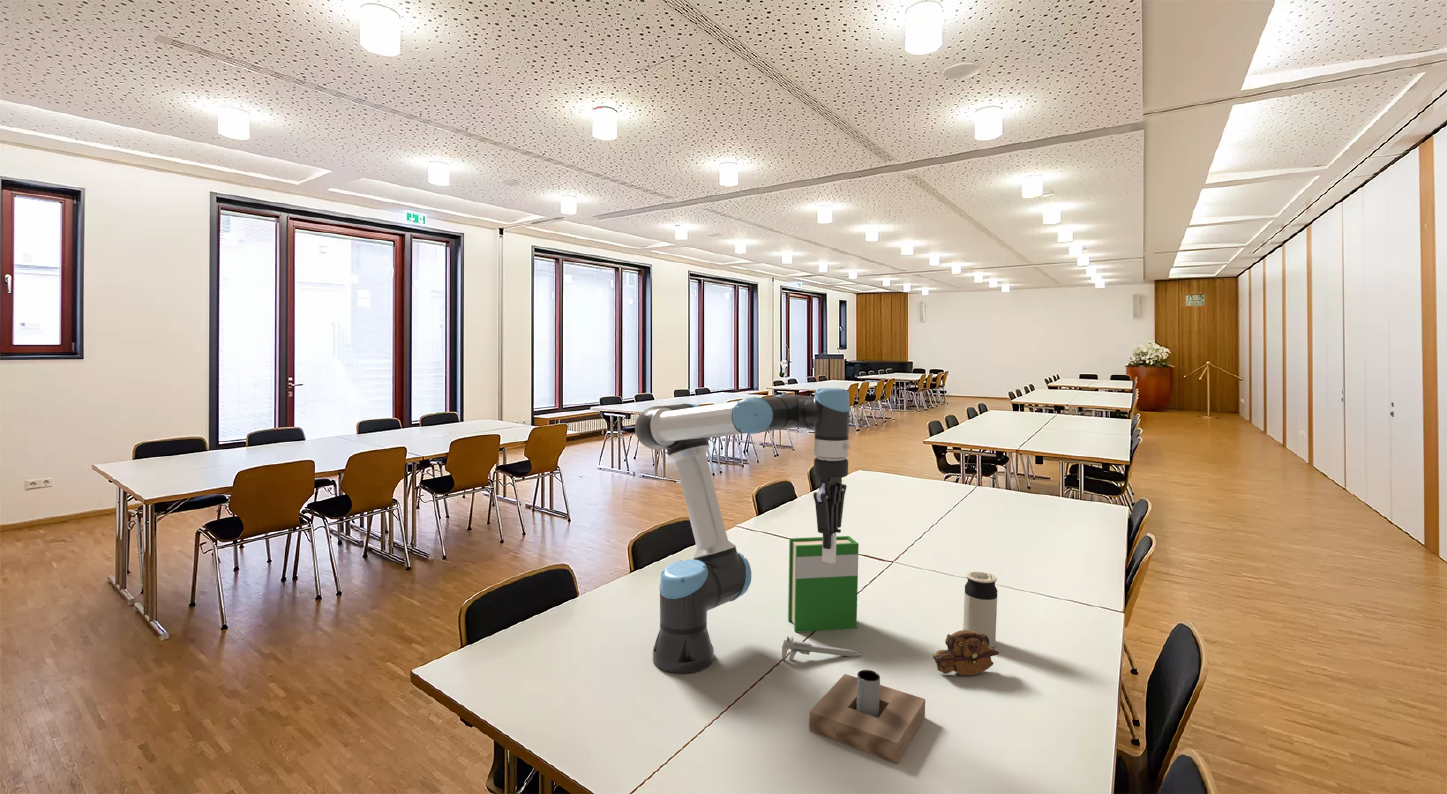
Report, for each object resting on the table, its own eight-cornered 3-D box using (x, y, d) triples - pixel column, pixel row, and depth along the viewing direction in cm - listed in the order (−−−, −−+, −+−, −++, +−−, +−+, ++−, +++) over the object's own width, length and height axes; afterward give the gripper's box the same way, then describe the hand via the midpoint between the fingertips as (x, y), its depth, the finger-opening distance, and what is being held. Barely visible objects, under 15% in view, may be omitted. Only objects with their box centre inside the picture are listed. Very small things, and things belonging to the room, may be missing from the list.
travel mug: (961, 645, 163) (963, 578, 161) (964, 633, 170) (967, 568, 168) (993, 652, 159) (996, 583, 158) (996, 639, 166) (999, 574, 165)
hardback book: (795, 632, 169) (796, 546, 168) (788, 620, 177) (789, 538, 175) (856, 628, 172) (858, 543, 171) (846, 617, 179) (848, 535, 178)
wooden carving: (942, 683, 144) (943, 641, 143) (930, 673, 148) (931, 632, 147) (1001, 674, 148) (1003, 633, 147) (989, 664, 152) (990, 625, 152)
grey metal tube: (875, 716, 130) (876, 669, 129) (881, 729, 125) (882, 680, 125) (853, 717, 130) (854, 669, 129) (859, 730, 125) (860, 681, 124)
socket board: (809, 730, 125) (809, 711, 125) (844, 690, 140) (844, 673, 140) (896, 763, 115) (897, 743, 115) (924, 717, 130) (925, 699, 130)
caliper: (782, 662, 153) (783, 637, 153) (781, 660, 154) (782, 635, 154) (861, 657, 156) (861, 633, 156) (859, 654, 157) (860, 631, 157)
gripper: (834, 463, 130) (832, 573, 132) (858, 455, 141) (855, 556, 143) (802, 459, 134) (800, 566, 136) (827, 452, 145) (825, 550, 147)
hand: (828, 561), depth 139 cm, fingers closed
